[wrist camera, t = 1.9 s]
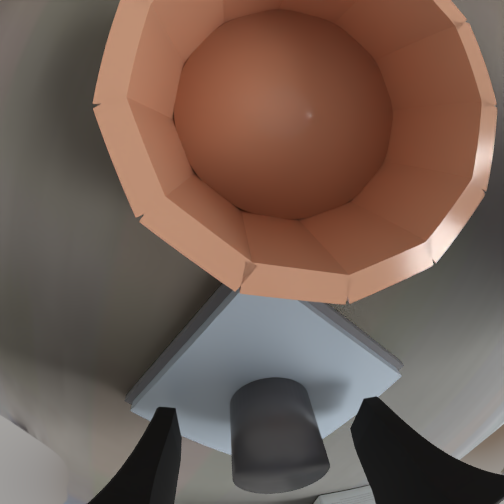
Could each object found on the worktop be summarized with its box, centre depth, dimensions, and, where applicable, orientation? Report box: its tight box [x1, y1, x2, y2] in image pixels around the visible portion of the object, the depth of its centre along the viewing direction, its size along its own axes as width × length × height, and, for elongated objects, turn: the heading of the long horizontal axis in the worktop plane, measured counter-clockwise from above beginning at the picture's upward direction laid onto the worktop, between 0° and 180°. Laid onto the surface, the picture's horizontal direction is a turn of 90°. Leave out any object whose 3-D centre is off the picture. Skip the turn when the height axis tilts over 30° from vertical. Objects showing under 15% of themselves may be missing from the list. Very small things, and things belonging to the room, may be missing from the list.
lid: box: [130, 288, 401, 494], centre depth 10 cm, size 8×8×4 cm
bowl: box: [93, 0, 497, 304], centre depth 6 cm, size 8×8×4 cm
